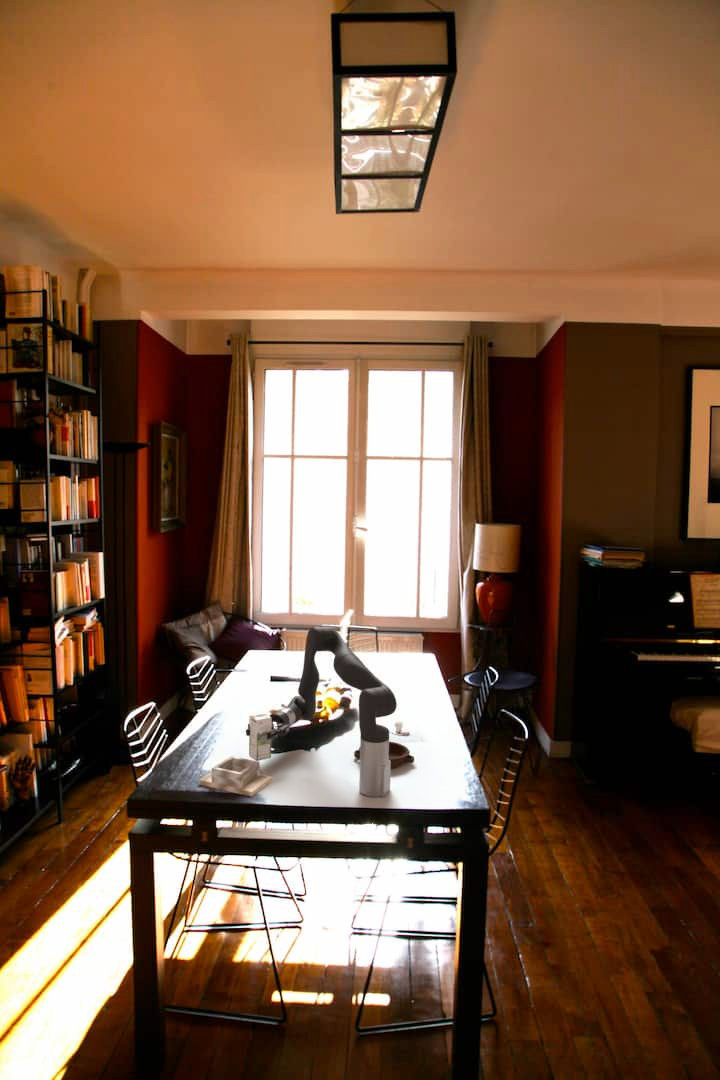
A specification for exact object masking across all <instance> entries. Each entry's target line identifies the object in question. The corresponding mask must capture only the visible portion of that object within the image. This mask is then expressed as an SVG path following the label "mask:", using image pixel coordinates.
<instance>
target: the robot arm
mask: <svg viewBox="0 0 720 1080" xmlns="http://www.w3.org/2000/svg"><path fill="white" fill-rule="evenodd" d="M305 640H306V641H305V647H304V658H303V669H302V673H301V678H300V681H299V684H298V685H299V686H298V690H297V693H298V696H293V697H292V699H291V700H290V702H289V703H288V705H286V706H285V707H283V708H280V709H278V710H276V711H274V712H272V713H271V714H268V715H269V716H270V717H271V718H272V724H271V731H270V732H268V733H267V739H271V740H272V739H273V738H274V737H278V736H279V737H281V738H282V737H284V736H286V735H287V734H288V733H290V728H291V727H292V726H294V725H295V724H296V723H298V722H299V721H300V720H301V719H302V720H305V721H310V720H312V718H313V717H314V716H315V713H316V709H317V700H316V699H317V696H316V695H317V691H318V687H319V682H320V672H319V669H318V667H317V664H316V661H315V660H316V659H315V657H316V654H317V652H331V653H332V654H333V655H334V658H333V669H334V670H333V671H335V674H336V675H337V676H338V677H339V678H340V679H341V681H342V682H344V683H345V684H346V685H348V686H350V687H352V688H354V689H357V690H359V691H361V692H360V694H359V699H358V716H359V717H358V718H359V719H358V725H359V731H360V741H359V742H360V745H359V747H360V759H359V782H358V784H359V786H358V787H359V789H358V790H359V792H360V794H362V795H363V796H367V797H369V798H378V797H380V798H381V797H382V798H384V797H386V795H387V794H388V793H389V791H390V790H391V771H392V770H391V761H390V760H389V742H390V730H389V729H388V727H386V726H384V725H382V724H377V720H376V719H377V718H382V717H388V716H390V715H393V714H394V713H395V712H396V710H397V705H398V704H397V698H396V696H395V694H394V692H393V691H392V690H391V688H390V687H389V686H387V685H386V684H385V683H384V682H382V680H380V679H379V678H378V677H377V676H375V674H374V673H373V672H372V671H371V670H370V669H369V668H368V667H367V666H366V665H365V664H364V663H363V661H362V660H361V659H360V658H359V657H358V656H357V655H356V654H355V653H354V652H353V651H352V649H351V648H350V647H349V646H348V645H347V644H346V642H345V641H344V639H343V638H342V636H341V634H340V633H339V632H338V630H337V629H336V628H334V627H333V626H326V625H325V626H312V627H310V628H309V630H308V632H307V635H306V639H305ZM245 735H246V736H247V737H249V723H248V724H247V728H246V730H245Z"/></svg>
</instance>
